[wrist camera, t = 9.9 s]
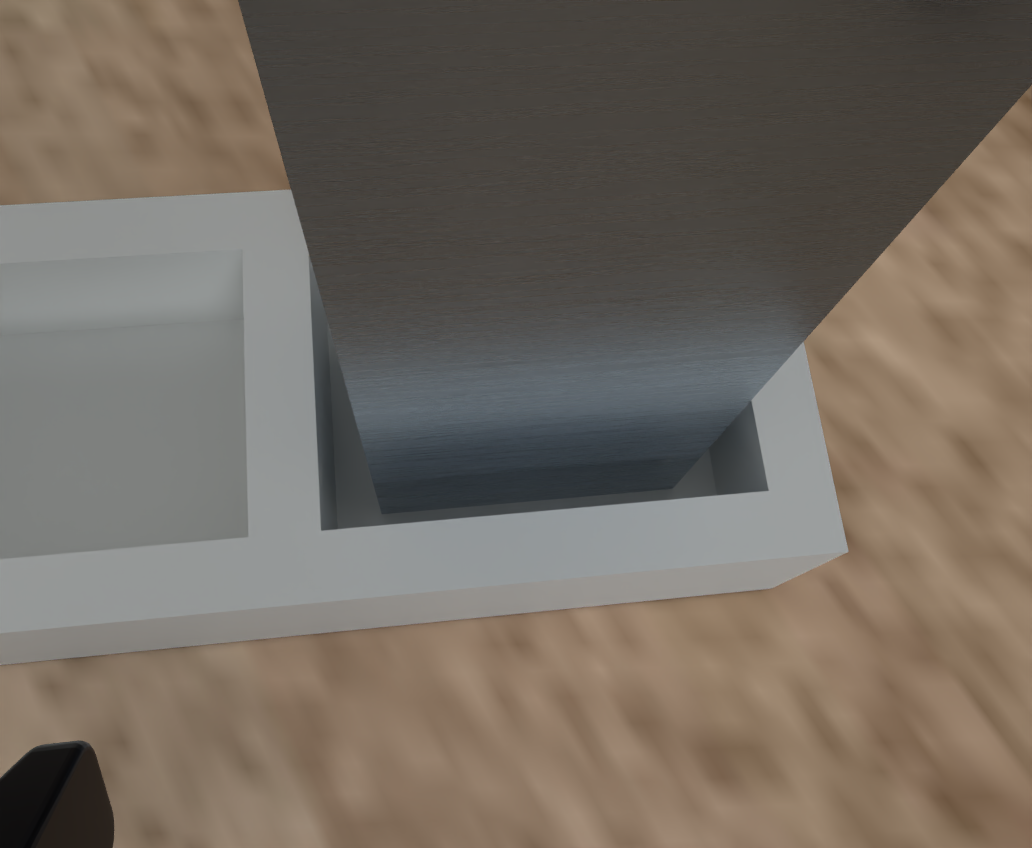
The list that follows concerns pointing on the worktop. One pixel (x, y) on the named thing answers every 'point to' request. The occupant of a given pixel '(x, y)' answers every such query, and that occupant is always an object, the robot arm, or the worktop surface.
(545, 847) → the worktop surface
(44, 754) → the robot arm
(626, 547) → the rack
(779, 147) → the brushed metal pillar
